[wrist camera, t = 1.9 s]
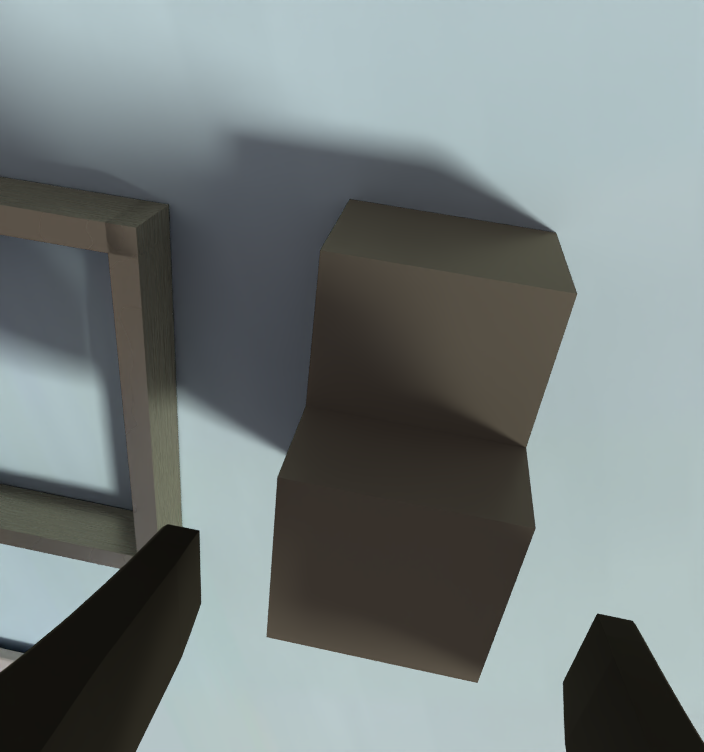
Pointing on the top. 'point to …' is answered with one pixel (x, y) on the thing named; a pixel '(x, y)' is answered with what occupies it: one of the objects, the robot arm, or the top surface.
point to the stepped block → (416, 437)
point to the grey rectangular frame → (136, 365)
